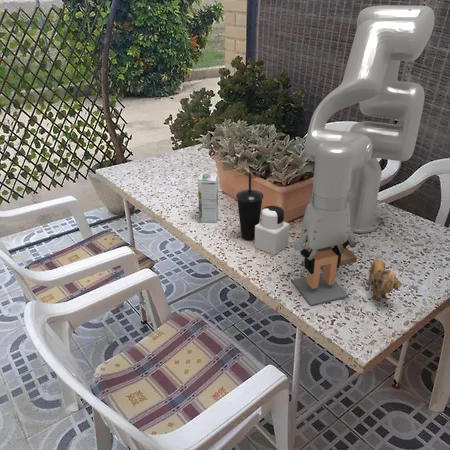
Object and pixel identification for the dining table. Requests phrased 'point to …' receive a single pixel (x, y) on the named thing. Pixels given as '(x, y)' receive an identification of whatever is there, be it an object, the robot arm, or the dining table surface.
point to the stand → (345, 256)
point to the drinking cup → (249, 211)
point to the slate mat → (319, 291)
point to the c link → (329, 270)
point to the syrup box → (208, 197)
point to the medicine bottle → (272, 230)
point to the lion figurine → (382, 280)
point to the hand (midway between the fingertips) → (321, 267)
